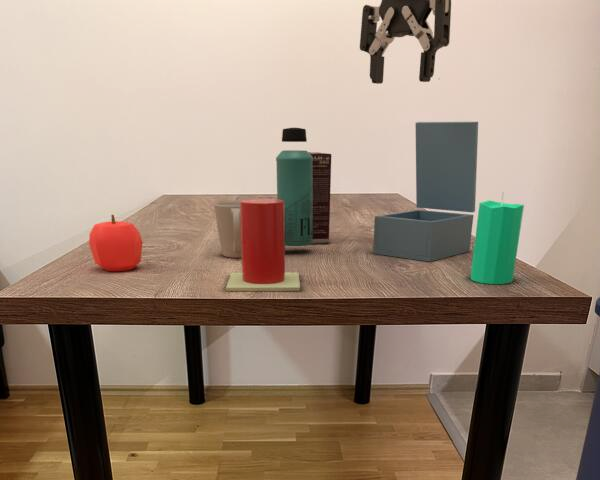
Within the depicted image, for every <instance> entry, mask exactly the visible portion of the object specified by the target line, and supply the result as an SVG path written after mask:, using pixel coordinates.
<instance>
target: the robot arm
mask: <svg viewBox="0 0 600 480" xmlns="http://www.w3.org/2000/svg"><path fill="white" fill-rule="evenodd" d="M431 13H432V14H433V16H434V27H433V29H434V30H432V28H431V26H430V24H429V22H428V18H429V16H430V15H431ZM451 18H452V0H381V2H380V5H378V6H377V5H376V6H374V5H370V4H365V5H364V6H363V7H362V14H361V26H360V37H359V38H360V39H359V50H360V51H361V52H364V53H367V54H368V55H369V57H370V60H369V79H370V80H371V83H372V84H377V85H379V84H383V82H384V72H385V71H384V70H385V56H383V55H384V54H385V52H386V51H387V49H388V47H389V46H390V44H392V43H393V42H394V40H395V38H404V37H406V36H408V37H415V38H416V40H418V43H419V45H420V46H421V48H422V50H423V51H422V52H420V61H419V62H420V63H419V74H418V81H419V82H421V83H429V82H430V81H431V78H433V77H434V75H435V65H436V54H437V52H438V50H440V49H442V48H446V47H448V46H449V45H450V42H451V41H450V37H451ZM380 20H381V23H380V25H379V27H378V22H379V21H380ZM377 27H378V28H377Z"/></svg>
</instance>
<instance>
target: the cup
mask: <svg viewBox="0 0 600 480" xmlns="http://www.w3.org/2000/svg"><path fill="white" fill-rule="evenodd" d="M240 201H241V200H229V201H218V202H214V204H213V206H214V207H213V208H214V213H215V220H216V228H217V234H218V239H219V244H220V249H221V255H222V256H224V257H226V258H231V259H242V249H241V221H240Z"/></svg>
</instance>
